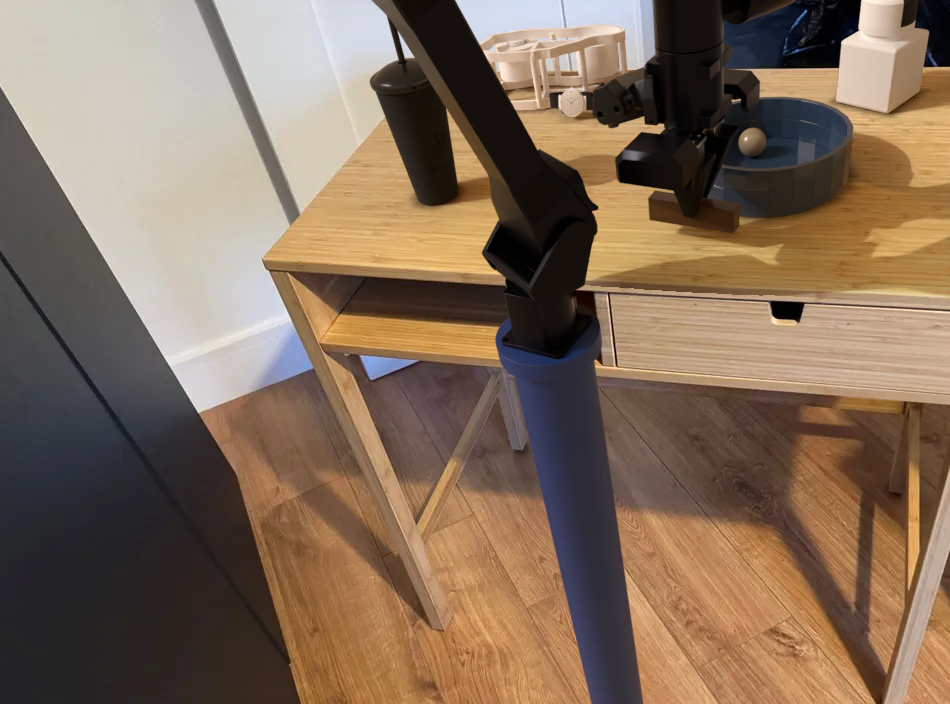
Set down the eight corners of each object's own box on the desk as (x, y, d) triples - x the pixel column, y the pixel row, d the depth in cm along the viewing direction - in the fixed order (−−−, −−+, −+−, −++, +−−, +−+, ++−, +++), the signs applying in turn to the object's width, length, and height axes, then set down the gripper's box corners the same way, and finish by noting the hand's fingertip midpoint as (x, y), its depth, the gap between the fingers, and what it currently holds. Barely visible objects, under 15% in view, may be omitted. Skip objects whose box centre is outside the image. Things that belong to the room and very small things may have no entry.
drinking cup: (393, 209, 93) (334, 21, 79) (426, 177, 98) (376, -6, 84) (451, 214, 90) (400, 21, 76) (482, 181, 95) (440, -7, 81)
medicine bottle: (867, 81, 102) (879, -26, 94) (920, 92, 98) (938, -18, 89) (834, 102, 99) (844, -6, 90) (887, 115, 95) (903, 2, 86)
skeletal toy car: (635, 73, 113) (631, 15, 108) (621, 107, 105) (616, 47, 100) (498, 79, 117) (487, 24, 112) (475, 112, 110) (463, 55, 105)
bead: (735, 150, 88) (735, 125, 89) (741, 164, 91) (741, 140, 92) (763, 144, 87) (763, 119, 88) (768, 159, 90) (768, 134, 91)
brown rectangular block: (656, 212, 82) (654, 190, 80) (739, 226, 78) (740, 203, 76) (649, 220, 81) (647, 197, 79) (733, 234, 77) (733, 211, 76)
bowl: (818, 229, 80) (822, 180, 76) (658, 203, 87) (655, 159, 83) (867, 149, 90) (873, 104, 86) (720, 133, 97) (720, 90, 93)
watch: (544, 117, 105) (540, 89, 103) (559, 102, 108) (555, 74, 106) (600, 120, 103) (596, 91, 100) (613, 104, 106) (610, 76, 103)
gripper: (650, -1, 77) (659, 158, 87) (549, 78, 66) (574, 248, 77) (764, 4, 72) (759, 171, 83) (676, 89, 61) (683, 269, 72)
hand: (693, 212), depth 79 cm, fingers closed on brown rectangular block, 2 cm apart
